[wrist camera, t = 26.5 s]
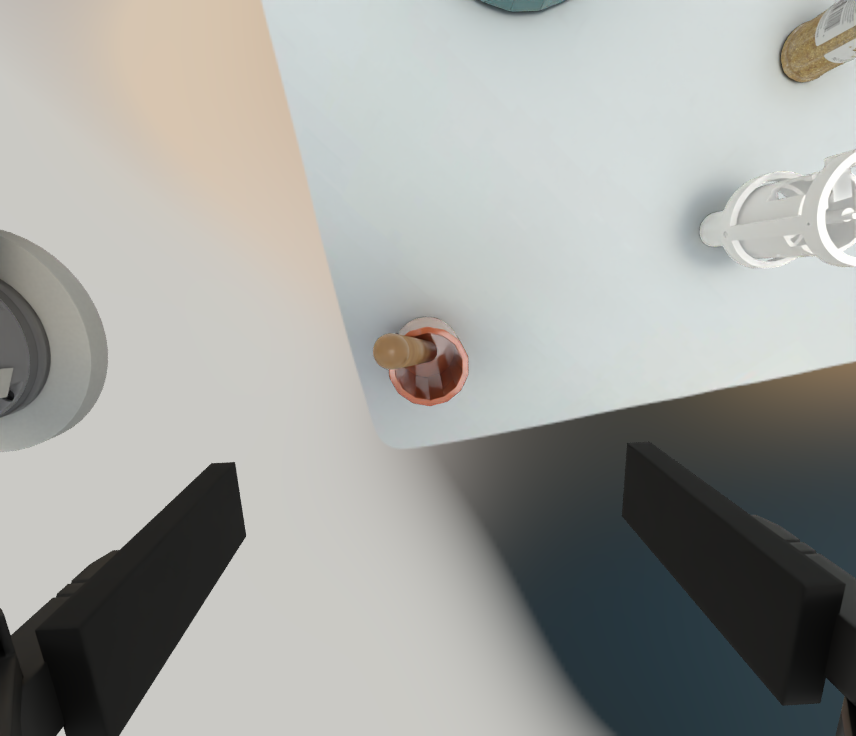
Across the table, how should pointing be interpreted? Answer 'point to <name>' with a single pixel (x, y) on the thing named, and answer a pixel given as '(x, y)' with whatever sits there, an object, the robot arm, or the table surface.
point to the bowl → (522, 4)
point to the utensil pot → (432, 365)
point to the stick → (402, 351)
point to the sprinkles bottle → (821, 43)
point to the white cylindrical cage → (790, 217)
